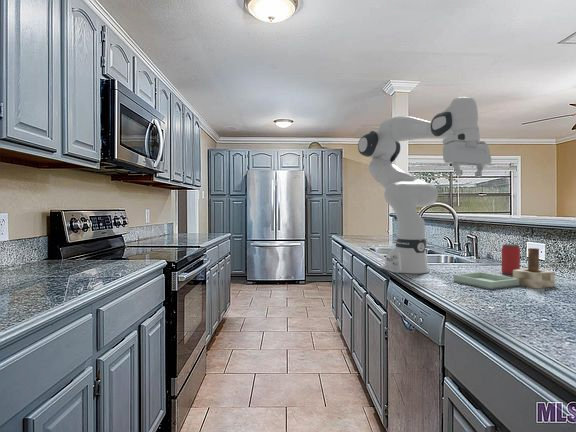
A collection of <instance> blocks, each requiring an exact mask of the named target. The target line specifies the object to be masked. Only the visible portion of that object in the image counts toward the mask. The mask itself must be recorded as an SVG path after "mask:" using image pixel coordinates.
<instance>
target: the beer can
mask: <svg viewBox="0 0 576 432" xmlns="http://www.w3.org/2000/svg"><path fill="white" fill-rule="evenodd" d="M517 269H521V250H520V247H519V245H518V244H512V243H511V244H510V243H507V244H506V243H504V244H503V245H502V247H501V273H503V274H505V275H509V276H510V275H512V276H513V270H517Z"/></svg>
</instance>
